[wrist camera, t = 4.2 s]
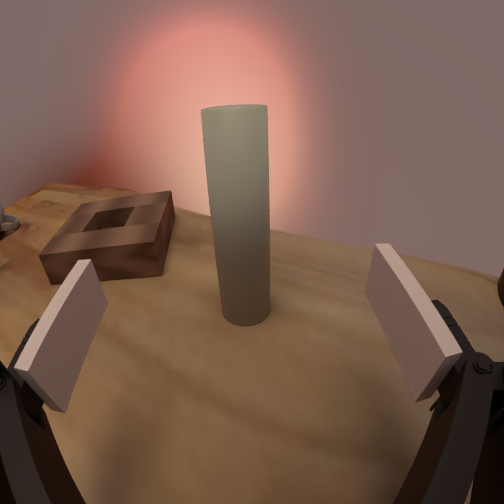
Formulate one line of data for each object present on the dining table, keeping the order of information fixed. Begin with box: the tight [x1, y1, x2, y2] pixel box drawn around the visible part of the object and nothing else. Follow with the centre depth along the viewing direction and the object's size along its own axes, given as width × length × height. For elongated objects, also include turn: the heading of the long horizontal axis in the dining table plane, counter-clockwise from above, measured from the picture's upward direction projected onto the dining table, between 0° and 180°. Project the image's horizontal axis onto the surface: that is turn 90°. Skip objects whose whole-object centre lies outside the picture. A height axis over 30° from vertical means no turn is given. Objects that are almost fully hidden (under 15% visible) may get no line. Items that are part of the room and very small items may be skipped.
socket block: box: [39, 191, 175, 285], centre depth 34 cm, size 14×14×4 cm
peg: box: [201, 105, 270, 326], centre depth 21 cm, size 4×4×16 cm
